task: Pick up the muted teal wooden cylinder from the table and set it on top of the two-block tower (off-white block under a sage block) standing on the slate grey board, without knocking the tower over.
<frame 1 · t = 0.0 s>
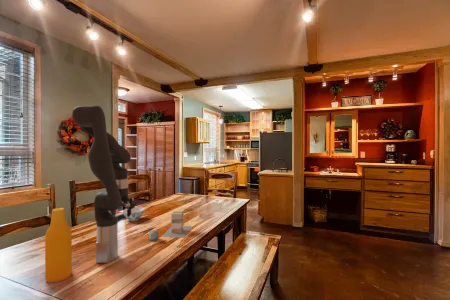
hand: (121, 215, 127), 17 cm above the table, tool pointing down, fingers open, 8 cm apart
beer bottle: (59, 277, 98), on the table
chinaware: (133, 220, 173), on the table
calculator: (115, 219, 176), on the table
tower board: (177, 233, 146), on the table
cylinder: (153, 242, 133), on the table
top block: (177, 221, 146), point 7 cm above the table, touching base block
base block: (177, 231, 146), point 1 cm above the table, touching top block, tower board
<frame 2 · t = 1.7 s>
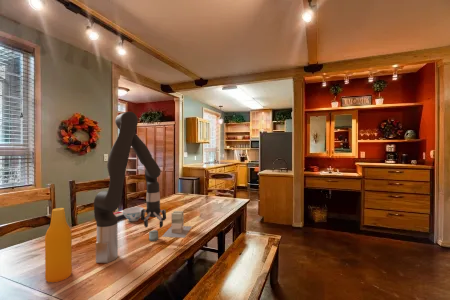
hand: (153, 227, 134), 8 cm above the table, tool pointing down, fingers open, 8 cm apart
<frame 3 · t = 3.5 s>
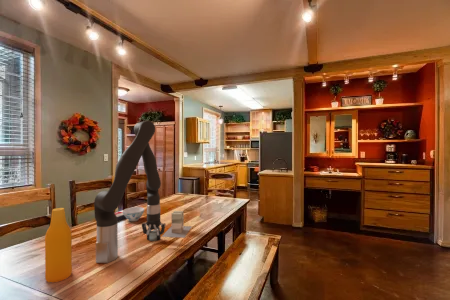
hand: (153, 240, 133), 1 cm above the table, tool pointing down, fingers closed on cylinder, 5 cm apart
cylinder: (153, 242, 133), on the table, touching gripper
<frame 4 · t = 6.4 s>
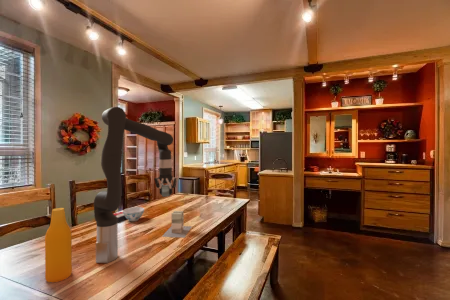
hand: (166, 194, 139), 26 cm above the table, tool pointing down, fingers closed on cylinder, 5 cm apart
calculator: (118, 219, 175), on the table
cylinder: (166, 195, 140), point 26 cm above the table, touching gripper
everything else where it was.
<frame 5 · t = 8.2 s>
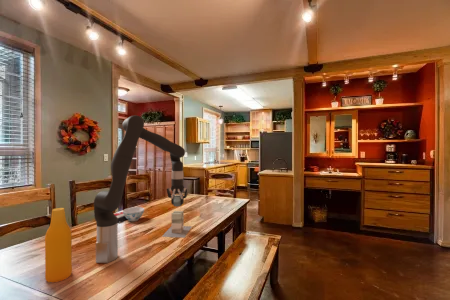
hand: (177, 204, 146), 19 cm above the table, tool pointing down, fingers closed on cylinder, 5 cm apart
cylinder: (177, 205, 146), point 18 cm above the table, touching gripper
when the fingers open (16 cm above the table, at t = 9.6 s): cylinder drops 2 cm, resting on top block.
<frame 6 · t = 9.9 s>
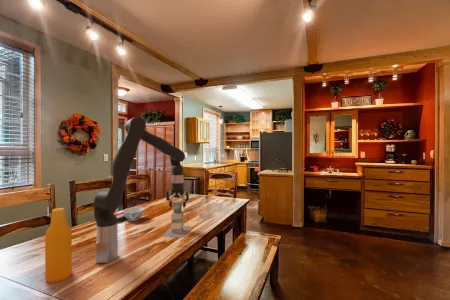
hand: (177, 207, 146), 17 cm above the table, tool pointing down, fingers open, 8 cm apart
chinaware: (133, 220, 173), on the table, touching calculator
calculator: (119, 220, 174), on the table, touching chinaware
cylinder: (177, 212, 146), point 13 cm above the table, touching top block
top block: (177, 221, 146), point 7 cm above the table, touching base block, cylinder
everything else where it was.
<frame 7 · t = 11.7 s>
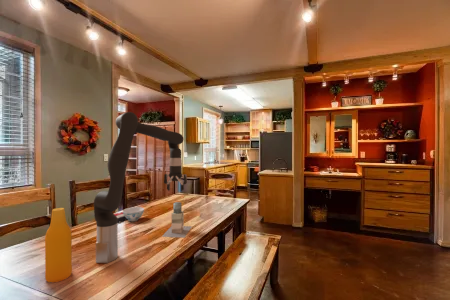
hand: (175, 190, 145), 28 cm above the table, tool pointing down, fingers open, 8 cm apart
chinaware: (133, 220, 173), on the table
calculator: (119, 220, 174), on the table
everything else where it was.
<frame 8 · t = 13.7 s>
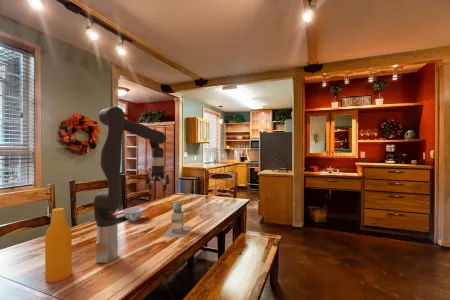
hand: (157, 190, 142), 28 cm above the table, tool pointing down, fingers open, 8 cm apart
chinaware: (133, 220, 173), on the table, touching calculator
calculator: (118, 220, 174), on the table, touching chinaware
everything else where it was.
at the end: cylinder 0.1 cm off-centre on the top block, point 6.0 cm above the top block's base; top block tilted 0°; top block 0.0 cm from the base block (horizontally) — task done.
